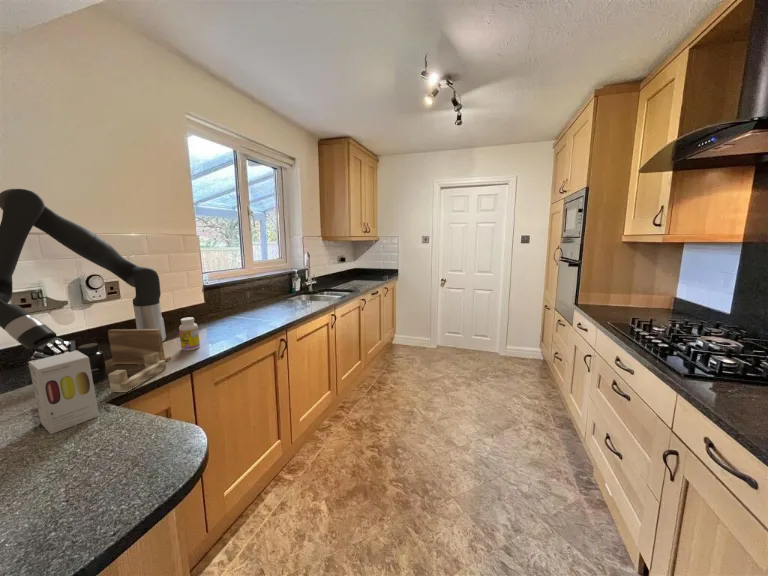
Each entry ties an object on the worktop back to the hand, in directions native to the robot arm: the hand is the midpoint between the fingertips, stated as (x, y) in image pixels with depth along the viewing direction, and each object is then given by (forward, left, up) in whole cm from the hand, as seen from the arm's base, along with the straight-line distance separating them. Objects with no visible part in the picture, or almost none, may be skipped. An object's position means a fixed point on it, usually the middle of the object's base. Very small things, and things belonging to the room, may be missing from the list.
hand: (76, 367), depth 102 cm
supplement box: (+22, +19, -5) cm, 30 cm away
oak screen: (-15, +10, -4) cm, 18 cm away
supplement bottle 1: (0, +5, -5) cm, 7 cm away
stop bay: (0, +21, -4) cm, 21 cm away
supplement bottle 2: (-28, +20, -5) cm, 35 cm away
